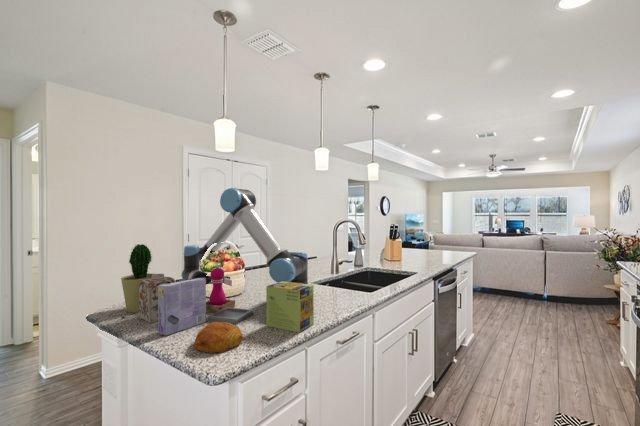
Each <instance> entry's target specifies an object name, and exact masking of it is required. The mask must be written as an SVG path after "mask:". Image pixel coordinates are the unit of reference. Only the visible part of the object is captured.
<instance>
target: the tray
mask: <svg viewBox="0 0 640 426" xmlns="http://www.w3.org/2000/svg"><path fill="white" fill-rule="evenodd" d="M253 315H254V310H253V309H248V308H236V307H233V308H229V307H227V308H224V309H222V310H220V311H218V312H216V313H211V314H210V315H207V321H208V322H209V323H211V322H228V323H231V324H233V325H238V324H240V323H241V322H243V321H245V320H247V319H248V318H249V317H252V316H253Z"/></svg>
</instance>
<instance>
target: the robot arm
mask: <svg viewBox="0 0 640 426" xmlns="http://www.w3.org/2000/svg"><path fill="white" fill-rule="evenodd" d="M219 199H220V200H219V203H220V204H219V205H220V207H221V209H222V210H223V211H224V212H226V213H229V214H228V215H227V216H226V218H225V219H224V220H223V222H221V224H219V227H218V228H217V229H216V230H215V231H214V233H213V234H212V235H211V237H209V239H208V240H207V241H206V243H205V244H204V245H203V246H202V247H200V246H199V245H198V244H191V245H189V244H188V245H185V246H184V247H183V270H181V271H182V272H181V276H180V277H181V279H182V281H186V280H192V279H197V278H205V279H206V285H213V283H212V277H211V275H209V276H206V275H207V274H208V272H205V271H204V270H203V271H202V270H200V263H201V262H200V260H201V259H202V257H203V256H204V254H205V252H206V251H207V249H208V248H209V247H210V246H211V245H212V244H214V243H217V245H216V246H214V247H213V248H212V249H211V251H210V253H212V252H215V251H218V252H219V250H220V248H221V247H222V246H223V245H224V243H226V241H227V240H228V238H230V237H231V235H232V234H233V232H234V231H235V230H236V229H237V228H238V226H239V225H240V224H242V226H243V227H244V229H245V230H246V232H247V233H248V234H249V236H250V237H251V239H252V240H253V241H254V243H255V244H256V246H257V247H258V249H259V250H260V251H261V253H262V254H263V256H264V257H265V258H266V265H267V267H268V269H269V270H268V274H269V276H270V278H271V279H272V280H273V281H274V282H275V283H279V282H282V281H283V282H292V283H302V284H309V280H308V275H309V272H308V271H309V270H308V269H309V267H308V264H309V263H308V262H309V258H308V253H307V252H298V251H296V252H295V251H288V249H286V248H282V247H281V246H280V244H279V243H278V241H277V239H276V238H275V237H274V235H272V233H271V232H270V230H269V229H268V228H267V226H266V225H265V224H264V222H263V221H262V220H261V218H260V216H259V215H258V214H257V212H256V211H255V207H256V204H257V199H256V196H255V193H253V192H252V190H249V189H245V188H244V189H242V188H237V187H230V188H227V189H225V190H224V191H223V192H222V193H221V195H220V198H219ZM221 242H224V243H221ZM222 284H224V285H227V286H229V287H231V286H232V285H233V279H231V276H228V275H226V276H224V277H223V282H222Z"/></svg>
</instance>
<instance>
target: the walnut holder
mask: <svg viewBox="0 0 640 426" xmlns="http://www.w3.org/2000/svg"><path fill="white" fill-rule="evenodd" d="M227 307H229V308H236V300H235V299H227V298H226V301H225V302H224V305H222V306H215V305H212V304H211V303H210V302H209V300H206V313H210V312H211V313H210V314H214V313H216V312H218V311H220V310H222V309H224V308H227Z"/></svg>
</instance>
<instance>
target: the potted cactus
mask: <svg viewBox="0 0 640 426" xmlns="http://www.w3.org/2000/svg"><path fill="white" fill-rule="evenodd" d="M131 250H132V251H131V252H130V255H129V259H128V260H129V261H128V264H130V266H129V267H130V268H131V273H132V274H129V275H125V276H122V277H121V278H120V279H121V285H122V291H123V297H124V301H125V308H126V312H127V311H128V313H139V285H140V283H141V282H142V281H143V280H145V279H148V278H152V275H153V274H154V273H150V272H149V271H148V269H151V268H150V267H149V265H150V264H152V263H153V260H152V259H153V256H152V255H153V254H152V249H150V248H149V247H148V246H147V245H146V244H144V243H143V244H140V243H139V244H135V245H134V247H133V248H131ZM151 262H152V263H151Z"/></svg>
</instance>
